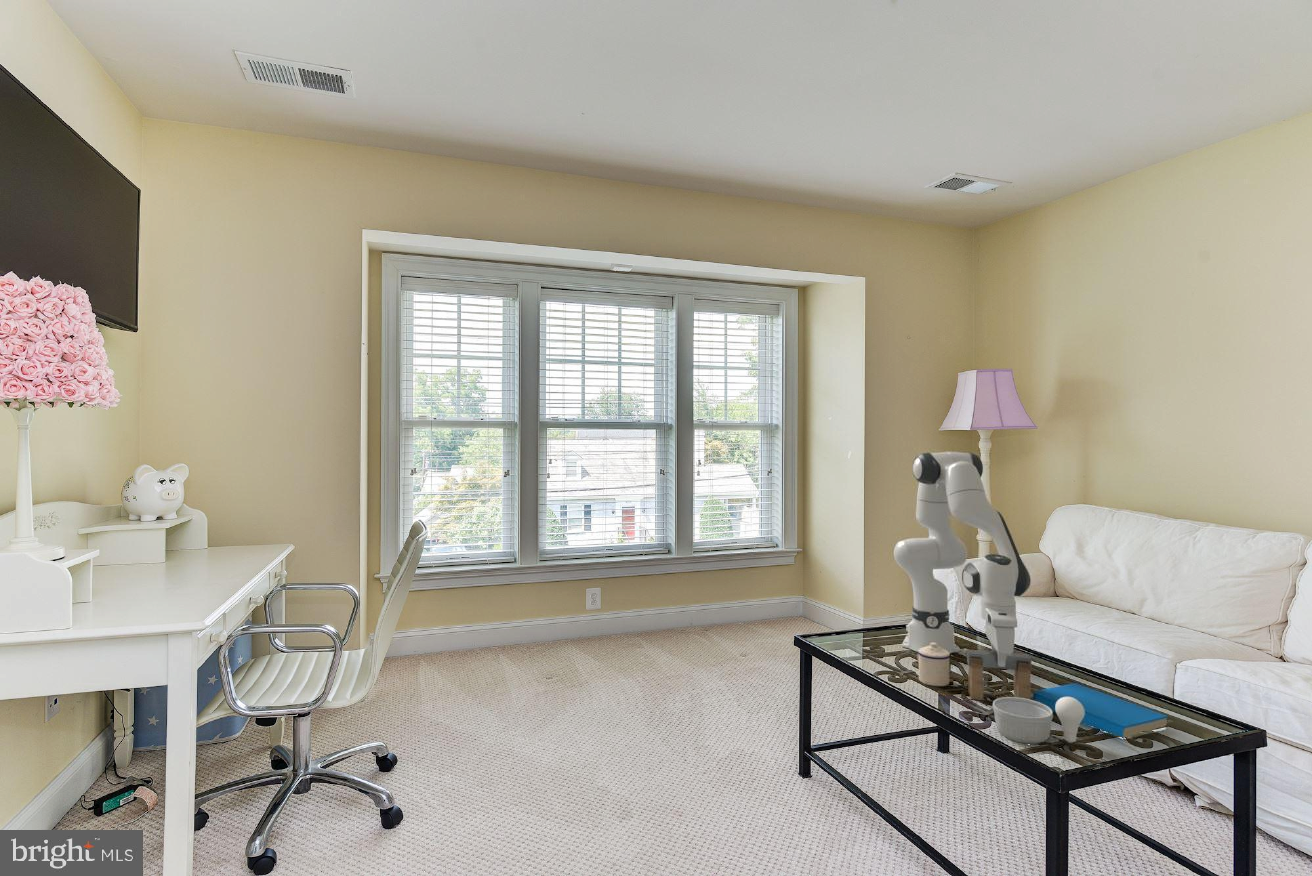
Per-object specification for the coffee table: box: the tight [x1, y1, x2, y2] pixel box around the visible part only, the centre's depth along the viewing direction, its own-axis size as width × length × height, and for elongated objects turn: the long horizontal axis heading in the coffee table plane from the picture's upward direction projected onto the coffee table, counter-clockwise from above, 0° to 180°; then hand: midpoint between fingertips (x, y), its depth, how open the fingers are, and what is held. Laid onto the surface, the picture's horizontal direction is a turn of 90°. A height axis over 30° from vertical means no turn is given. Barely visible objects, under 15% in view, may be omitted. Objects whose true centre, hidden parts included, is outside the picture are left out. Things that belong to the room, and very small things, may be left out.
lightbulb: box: [1055, 697, 1085, 744], centre depth 163 cm, size 6×6×11 cm
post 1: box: [967, 658, 984, 701], centre depth 193 cm, size 6×3×11 cm, turn 163°
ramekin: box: [992, 696, 1054, 745], centre depth 168 cm, size 13×13×7 cm
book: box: [1032, 682, 1169, 738], centre depth 179 cm, size 17×4×25 cm
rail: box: [966, 648, 1032, 671], centre depth 191 cm, size 4×16×4 cm, turn 73°
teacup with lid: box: [917, 643, 951, 687], centre depth 206 cm, size 12×9×12 cm
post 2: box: [1013, 662, 1032, 700], centre depth 190 cm, size 6×3×11 cm, turn 163°
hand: (998, 661), depth 191 cm, fingers open, 6 cm apart
